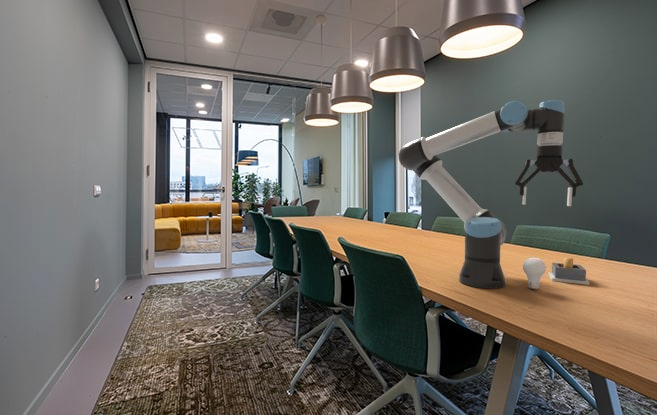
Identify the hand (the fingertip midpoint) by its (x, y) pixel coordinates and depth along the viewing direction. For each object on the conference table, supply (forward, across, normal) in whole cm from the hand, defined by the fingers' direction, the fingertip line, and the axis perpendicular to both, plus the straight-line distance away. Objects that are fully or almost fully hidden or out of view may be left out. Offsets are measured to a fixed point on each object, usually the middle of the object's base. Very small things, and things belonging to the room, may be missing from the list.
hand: (545, 205), depth 117 cm
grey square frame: (+27, +9, +8) cm, 30 cm away
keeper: (+28, +10, +8) cm, 31 cm away
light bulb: (+28, -4, -12) cm, 31 cm away
